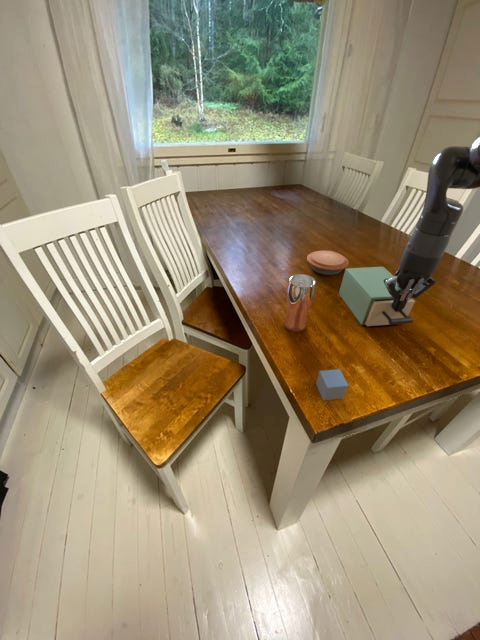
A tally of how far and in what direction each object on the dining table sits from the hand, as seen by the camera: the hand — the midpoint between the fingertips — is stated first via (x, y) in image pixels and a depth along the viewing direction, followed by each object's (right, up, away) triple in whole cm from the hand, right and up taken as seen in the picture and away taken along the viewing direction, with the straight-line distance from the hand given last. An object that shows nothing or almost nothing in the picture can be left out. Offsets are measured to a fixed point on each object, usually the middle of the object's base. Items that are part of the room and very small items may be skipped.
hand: (396, 309), depth 73 cm
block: (-22, -19, -12) cm, 31 cm away
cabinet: (-1, +1, +13) cm, 13 cm away
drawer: (-1, -1, +9) cm, 9 cm away
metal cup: (-26, -4, +6) cm, 27 cm away
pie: (-9, +17, +33) cm, 39 cm away
